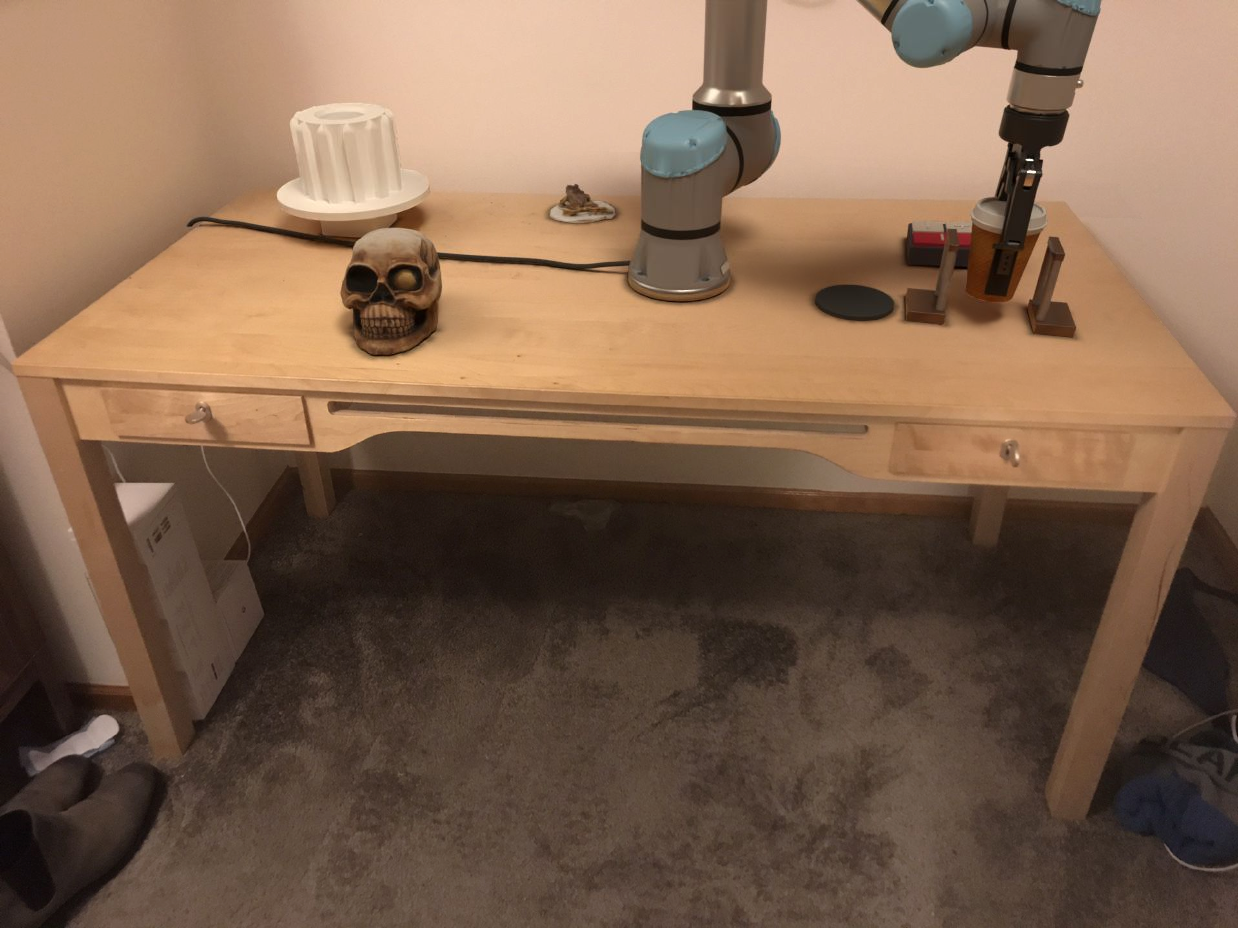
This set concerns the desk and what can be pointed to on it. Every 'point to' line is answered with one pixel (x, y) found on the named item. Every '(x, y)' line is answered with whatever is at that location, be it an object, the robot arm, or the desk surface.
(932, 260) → the calculator
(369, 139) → the ribbed cylinder on disc
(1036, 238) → the disposable coffee cup
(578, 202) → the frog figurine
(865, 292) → the coaster
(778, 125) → the robot arm
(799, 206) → the desk surface
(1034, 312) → the bookends
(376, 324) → the brown skull
